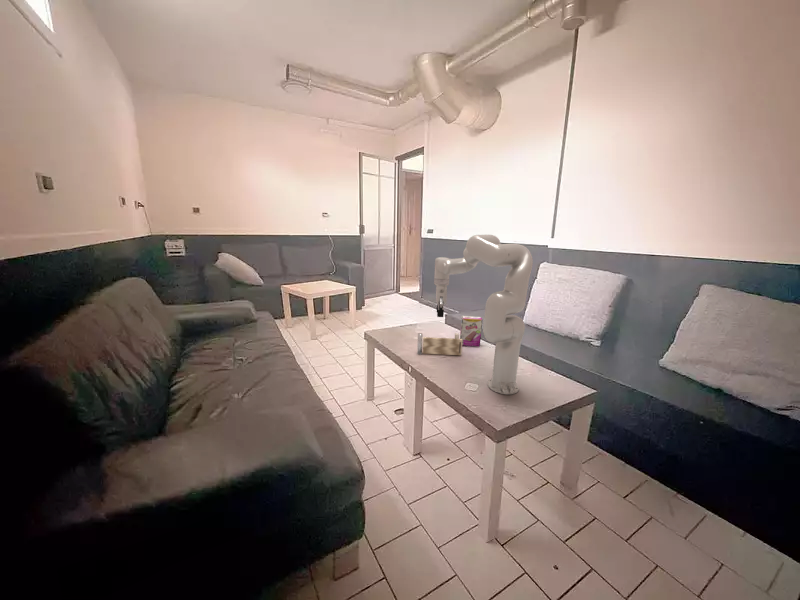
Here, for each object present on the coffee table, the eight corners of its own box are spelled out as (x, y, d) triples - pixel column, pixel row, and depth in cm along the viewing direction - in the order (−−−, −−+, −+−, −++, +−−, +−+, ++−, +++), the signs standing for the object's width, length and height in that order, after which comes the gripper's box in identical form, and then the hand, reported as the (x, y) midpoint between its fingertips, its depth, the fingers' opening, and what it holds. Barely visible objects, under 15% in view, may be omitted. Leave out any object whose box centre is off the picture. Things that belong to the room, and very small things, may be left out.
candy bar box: (460, 346, 176) (461, 318, 172) (459, 342, 181) (461, 315, 177) (480, 347, 175) (482, 319, 171) (479, 343, 180) (481, 316, 176)
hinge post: (421, 354, 164) (422, 334, 161) (417, 354, 164) (417, 334, 162) (421, 352, 167) (422, 333, 164) (417, 352, 167) (417, 333, 164)
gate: (422, 353, 164) (423, 338, 162) (422, 352, 166) (423, 337, 164) (461, 355, 163) (462, 340, 161) (461, 354, 165) (462, 338, 162)
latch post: (457, 354, 165) (459, 334, 162) (453, 354, 165) (455, 334, 163) (457, 352, 167) (458, 333, 164) (453, 352, 167) (454, 333, 164)
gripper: (450, 285, 153) (448, 320, 158) (447, 278, 170) (446, 310, 175) (434, 284, 154) (433, 319, 158) (433, 278, 171) (432, 309, 175)
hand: (439, 314), depth 166 cm, fingers open, 7 cm apart
